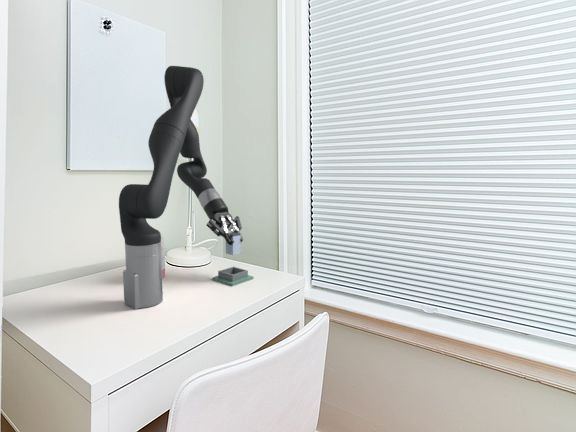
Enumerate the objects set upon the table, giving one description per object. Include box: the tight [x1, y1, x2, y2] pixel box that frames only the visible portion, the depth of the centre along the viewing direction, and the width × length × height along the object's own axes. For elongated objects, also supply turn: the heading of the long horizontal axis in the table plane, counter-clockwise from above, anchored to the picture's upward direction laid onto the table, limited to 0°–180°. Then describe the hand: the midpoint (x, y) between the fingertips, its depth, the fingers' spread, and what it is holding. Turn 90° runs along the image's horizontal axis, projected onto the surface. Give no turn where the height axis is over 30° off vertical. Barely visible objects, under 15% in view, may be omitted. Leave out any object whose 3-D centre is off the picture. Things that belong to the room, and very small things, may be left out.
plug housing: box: [225, 231, 242, 256], centre depth 114 cm, size 4×4×7 cm
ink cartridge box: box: [161, 235, 166, 279], centre depth 112 cm, size 9×5×15 cm, turn 179°
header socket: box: [211, 266, 254, 287], centre depth 115 cm, size 10×10×3 cm
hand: (236, 242), depth 113 cm, fingers closed on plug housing, 3 cm apart
